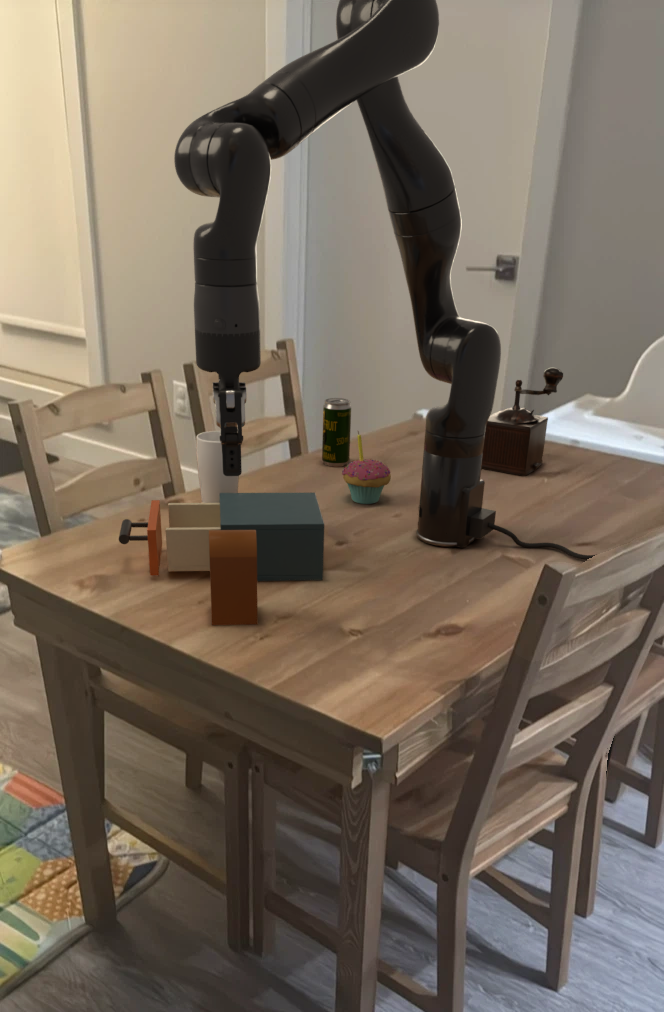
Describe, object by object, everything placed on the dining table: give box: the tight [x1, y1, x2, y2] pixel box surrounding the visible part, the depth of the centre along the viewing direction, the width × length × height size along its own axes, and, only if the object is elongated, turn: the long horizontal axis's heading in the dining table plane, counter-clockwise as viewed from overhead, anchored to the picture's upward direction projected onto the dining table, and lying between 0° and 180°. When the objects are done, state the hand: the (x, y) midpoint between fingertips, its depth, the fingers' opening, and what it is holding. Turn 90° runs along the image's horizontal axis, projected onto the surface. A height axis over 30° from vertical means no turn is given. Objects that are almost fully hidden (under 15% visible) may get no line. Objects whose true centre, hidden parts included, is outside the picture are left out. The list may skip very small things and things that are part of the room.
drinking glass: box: [195, 430, 240, 503], centre depth 157 cm, size 7×7×15 cm
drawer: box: [118, 499, 221, 576], centre depth 145 cm, size 18×13×7 cm
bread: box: [209, 530, 259, 626], centre depth 129 cm, size 6×5×12 cm
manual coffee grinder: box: [481, 366, 564, 477], centre depth 194 cm, size 16×11×18 cm
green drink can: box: [321, 397, 352, 468], centre depth 192 cm, size 5×5×12 cm
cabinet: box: [220, 491, 325, 582], centre depth 147 cm, size 15×14×9 cm
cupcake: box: [341, 429, 392, 505], centre depth 173 cm, size 9×8×12 cm
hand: (231, 464), depth 122 cm, fingers open, 8 cm apart
